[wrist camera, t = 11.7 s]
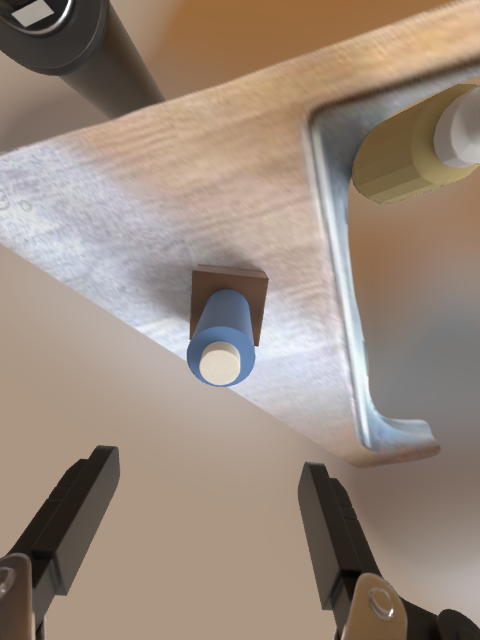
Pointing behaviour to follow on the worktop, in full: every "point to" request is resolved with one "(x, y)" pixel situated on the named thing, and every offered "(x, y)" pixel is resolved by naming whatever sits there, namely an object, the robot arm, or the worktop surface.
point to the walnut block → (239, 280)
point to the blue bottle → (223, 341)
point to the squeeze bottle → (421, 147)
